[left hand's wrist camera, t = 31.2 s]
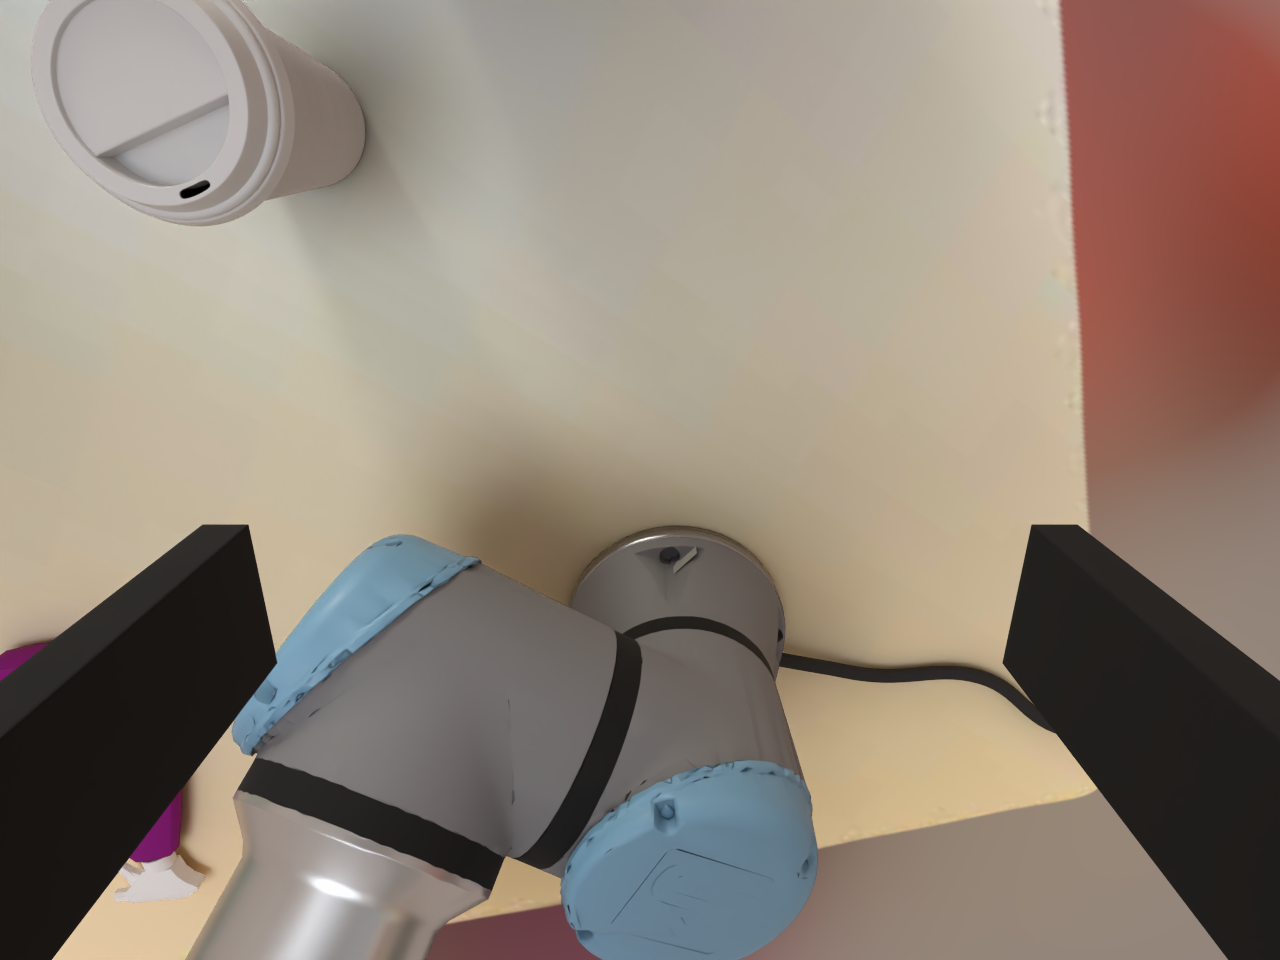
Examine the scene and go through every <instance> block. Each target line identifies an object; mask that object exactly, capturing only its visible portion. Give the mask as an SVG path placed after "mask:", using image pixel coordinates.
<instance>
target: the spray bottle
mask: <svg viewBox="0 0 1280 960" xmlns="http://www.w3.org/2000/svg"><path fill="white" fill-rule="evenodd" d="M47 644H49V643H46V644H37V645H31V646H26V647H21V648H17V649H12V650H8V651H6V652H4V653H3V654H1V655H0V681H1V680H2V679H3V678H5V677H6V676H7V675H9V674H10V673H11V672H13V671H14V670H15V669H16V668H18V667H19V666H20V665H22V664H23V663H24V662H25V661H27V660H28V659H29V658H31V657H32V656H33V655H35V654H36V653H37V652H38V651H40V650H41V649H42V648H44V647H45V646H46V645H47ZM181 810H182V799H181V791H180V792H179V793H178V794H177V796H176V797H175V798H174V800H173V801H172V802H171V804H170V805H169V806H168V808H167V809H166V810H165V812H164V813H163V814H162V815H161V817H160V818H159V819H158V821H157V822H156V823H155V825H154V826H153V827H152V829H151V830H150V831H149V833H148V834H147V835H146V837H145V838H144V839H143V840H142V842H141V843H140V844H139V846H138V847H137V848H136V850H135V851H134V852H133V854H132V855H131V856H130V859H132V860H134V861H135V862H141V863H142V865H143V867H144V869H140V868H135V867H133V866H132V865H130V864H128V863H125V864H124V865H123V867H122V868H121V869H120V871H119V873H120V874H121V875H122V876H123V877H124V878H125V879H126V880H127V881H128V883H129V884H130V885H131V886H130V887H126V888H121V889H117V890H116V892H115V893H114V900H115V902H122V901H131V902H133V903H138V902H148V901H158V900H168V899H178V898H186V897H188V896H189V895H191V894H192V893H193V892H195V891H196V890H198V889H199V887H200V885H201V884H202V882H203V880H204V879H205V877H206V875H204V874H202V873H199V872H197V871H195V870H193V869H192V868H190V867H189V866H187V865H186V863H185V862H184V860H183V859H182V857H181V856H180V855H176V853H175V850H176V849H177V847H178V846H179V842H180V826H181Z"/></svg>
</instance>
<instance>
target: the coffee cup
mask: <svg viewBox="0 0 1280 960" xmlns="http://www.w3.org/2000/svg"><path fill="white" fill-rule="evenodd" d="M31 68H32V78H33V84H34V89H35V93H36V97H37V100H38V103H39V106H40V109H41V111H42V114H43V116H44V118H45V120H46V122H47V124H48V126H49V128H50V130H51V132H52V134H53V135H54V137H55V138H56V140H57V141H58V143H59V144H60V146H61V147H62V149H63V150H64V151H65V152H66V154H67V155H68V156H69V157H70V158H71V159H72V161H73V162H74V163H75V164H76V165H77V166H78V167H79V168H80V169H81V170H82V171H84V172H85V173H86V174H87V175H88V176H89V177H91V178H92V179H93V180H94V181H95V182H96V183H97V184H98V185H100V186H101V187H102V188H103V189H104V190H106V191H107V192H108V193H110V194H111V195H113V196H114V197H115V198H117V199H118V200H120V201H121V202H123V203H125V204H126V205H128V206H130V207H132V208H134V209H136V210H138V211H140V212H142V213H144V214H147V215H149V216H152V217H155V218H157V219H160V220H163V221H166V222H170V223H174V224H180V225H187V226H211V225H218V224H222V223H226V222H230V221H232V220H235V219H238V218H240V217H242V216H244V215H246V214H247V213H249V212H251V211H252V210H254V209H255V208H256V207H258V206H259V205H260V204H261V203H262V202H263V201H266V200H270V199H274V198H278V197H282V196H286V195H291V194H295V193H299V192H303V191H307V190H312V189H316V188H320V187H324V186H328V185H332V184H334V183H337V182H339V181H340V180H342V179H344V178H345V177H346V176H348V175H349V174H350V173H351V172H352V170H353V169H354V168H355V167H356V165H357V164H358V162H359V160H360V158H361V155H362V152H363V149H364V144H365V122H364V117H363V113H362V110H361V107H360V105H359V102H358V100H357V98H356V96H355V95H354V93H353V91H352V90H351V89H350V87H349V86H348V85H347V83H346V82H345V81H344V80H343V79H342V78H341V77H340V76H339V75H337V74H336V73H335V72H334V71H332V70H331V69H329V68H328V67H326V66H325V65H323V64H322V63H320V62H318V61H317V60H315V59H314V58H312V57H311V56H309V55H307V54H306V53H304V52H303V51H301V50H300V49H298V48H297V47H295V46H293V45H292V44H290V43H289V42H287V41H286V40H284V39H283V38H281V37H279V36H278V35H276V34H275V33H273V32H272V31H270V30H269V29H267V28H265V27H264V26H262V24H261V23H260V22H259V20H258V19H257V18H256V16H255V15H254V14H253V13H252V12H251V11H250V9H249V8H248V7H247V6H246V5H245V4H244V3H243V2H242V1H241V0H50V1H49V2H48V3H47V5H46V6H45V8H44V10H43V12H42V13H41V16H40V18H39V20H38V23H37V26H36V29H35V32H34V37H33V42H32V51H31Z"/></svg>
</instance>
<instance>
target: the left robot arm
mask: <svg viewBox="0 0 1280 960" xmlns="http://www.w3.org/2000/svg"><path fill="white" fill-rule="evenodd" d="M784 639H785V618H784V612H783V608H782V604H781V601H780V598H779V595H778V592H777V589H776V587H775V584H774V582H773V580H772V578H771V577H770V575H769V573H768V571H767V570H766V569H765V567H764V566H763V565H762V563H761V562H760V561H759V560H758V559H757V558H756V557H755V556H754V555H753V554H752V553H751V552H749V551H748V550H747V549H746V548H744V547H743V546H741V545H740V544H738V543H737V542H735V541H733V540H731V539H730V538H727V537H725V536H723V535H721V534H718V533H715V532H712V531H708V530H704V529H700V528H694V527H683V526H669V527H660V528H654V529H649V530H645V531H641V532H638V533H635V534H633V535H630V536H628V537H625V538H623V539H621V540H620V541H618V542H616V543H614V544H613V545H611V546H610V547H608V548H607V549H605V550H604V551H603V552H602V553H600V554H599V555H598V556H597V557H596V558H595V559H594V560H593V561H592V562H591V563H590V565H589V566H588V567H587V568H586V569H585V571H584V572H583V574H582V575H581V577H580V579H579V581H578V583H577V584H576V587H575V589H574V592H573V594H572V598H571V602H570V607H567V606H565V605H563V604H561V603H559V602H557V601H555V600H553V599H551V598H549V597H547V596H544V595H542V594H540V593H538V592H536V591H534V590H532V589H530V588H528V587H527V586H525V585H523V584H521V583H519V582H517V581H515V580H513V579H511V578H509V577H507V576H505V575H503V574H501V573H499V572H497V571H495V570H493V569H491V568H489V567H487V566H485V565H483V564H482V562H481V560H479V559H478V558H476V557H473V556H471V557H465V556H462V555H460V554H457V553H455V552H452V551H450V550H447V549H445V548H442V547H440V546H438V545H436V544H433V543H431V542H429V541H426V540H424V539H422V538H419V537H416V536H412V535H393V536H389V537H386V538H384V539H381V540H379V541H377V542H376V543H374V544H373V545H371V546H370V547H368V548H367V549H366V550H365V551H363V552H362V553H361V554H360V555H359V556H358V557H356V558H355V559H354V560H353V561H352V562H351V563H350V564H349V565H348V566H347V567H346V568H345V569H344V570H343V571H342V572H341V574H340V575H339V576H338V577H337V578H336V579H335V580H334V581H333V582H332V584H331V585H330V586H329V587H328V588H327V589H326V590H325V592H324V593H323V594H322V595H321V596H320V597H319V599H318V600H317V601H316V602H315V603H314V605H313V606H312V607H311V608H310V610H309V611H308V612H307V613H306V615H305V616H304V617H303V618H302V620H301V621H300V622H299V624H298V625H297V626H296V627H295V629H294V630H293V631H292V633H291V634H290V635H289V637H288V638H287V639H286V641H285V642H284V643H283V645H282V646H281V647H280V649H279V650H278V652H277V653H276V654H275V649H274V644H273V640H272V635H271V630H270V625H269V621H268V616H267V611H266V606H265V602H264V597H263V592H262V587H261V583H260V578H259V573H258V568H257V563H256V559H255V554H254V549H253V544H252V540H251V535H250V530H249V525H202V526H200V527H199V528H198V529H196V530H195V531H194V532H193V533H191V534H190V535H189V536H187V537H186V538H185V539H183V540H182V541H181V542H180V543H178V544H177V545H176V546H174V547H173V548H172V549H170V550H169V551H168V552H167V553H165V554H164V555H163V556H161V557H160V558H159V559H158V560H156V561H155V562H154V563H152V564H151V565H150V566H148V567H147V568H146V569H145V570H143V571H142V572H141V573H139V574H138V575H137V576H136V577H134V578H133V579H132V580H130V581H129V582H128V583H126V584H125V585H124V586H123V587H121V588H120V589H119V590H117V591H116V592H115V593H114V594H112V595H111V596H110V597H108V598H107V599H106V600H104V601H103V602H102V603H101V604H99V605H98V606H97V607H95V608H94V609H93V610H92V611H90V612H89V613H88V614H86V615H85V616H84V617H82V618H81V619H80V620H79V621H77V622H76V623H75V624H73V625H72V626H71V627H69V628H68V629H67V630H66V631H64V632H63V633H62V634H60V635H59V636H58V637H57V638H55V639H54V640H53V641H51V642H50V643H49V644H47V645H46V646H45V647H44V648H42V649H41V650H40V651H38V652H37V653H36V654H35V655H33V656H32V657H31V658H29V659H28V660H27V661H25V662H24V663H23V664H22V665H20V666H19V667H18V668H16V669H15V670H14V671H13V672H11V673H10V674H9V675H7V676H6V677H5V678H3V679H2V680H1V681H0V960H52V959H53V957H54V956H55V955H56V953H57V952H58V951H59V949H60V948H61V947H62V946H63V944H64V943H65V942H66V940H67V939H68V938H69V936H70V935H71V934H72V932H73V931H74V930H75V928H76V927H77V926H78V925H79V923H80V922H81V921H82V919H83V918H84V917H85V915H86V914H87V913H88V911H89V910H90V909H91V907H92V906H93V905H94V903H95V902H96V901H97V900H98V898H99V897H100V896H101V894H102V893H103V892H104V890H105V889H106V888H107V886H108V885H109V884H110V882H111V881H112V880H113V879H114V877H115V876H116V875H117V873H118V872H119V871H120V869H121V868H122V867H123V865H124V864H125V863H126V861H127V860H128V859H129V858H130V856H131V855H132V854H133V852H134V851H135V850H136V848H137V847H138V846H139V844H140V843H141V842H142V840H143V839H144V838H145V837H146V835H147V834H148V833H149V831H150V830H151V829H152V827H153V826H154V825H155V823H156V822H157V821H158V819H159V818H160V817H161V815H162V814H163V813H164V812H165V810H166V809H167V808H168V806H169V805H170V804H171V802H172V801H173V800H174V798H175V797H176V796H177V794H178V793H179V792H180V791H181V789H182V788H183V787H184V785H185V784H186V783H187V781H188V780H189V779H190V777H191V776H192V775H193V773H194V772H195V771H196V770H197V768H198V767H199V766H200V764H201V763H202V762H203V760H204V759H205V758H206V756H207V755H208V754H209V752H210V751H211V750H212V748H213V747H214V746H215V745H216V743H217V742H218V741H219V739H220V738H221V737H222V735H223V734H224V733H225V731H226V730H227V729H228V727H229V726H230V725H231V724H232V722H233V721H234V720H235V721H234V724H233V727H232V735H233V740H234V742H235V743H236V744H238V745H239V746H240V748H241V751H242V753H243V754H246V755H250V756H253V755H254V754H255V753H258V754H257V756H256V758H255V760H254V762H253V764H252V765H251V767H250V769H249V770H248V772H247V774H246V776H245V777H244V779H243V781H242V782H241V784H240V786H239V788H238V789H237V791H236V793H235V795H234V797H233V801H234V805H235V809H236V813H237V817H238V821H239V825H240V829H241V833H242V837H243V856H242V859H241V860H240V862H239V864H238V866H237V868H236V869H235V871H234V873H233V875H232V877H231V878H230V880H229V882H228V884H227V886H226V887H225V889H224V891H223V893H222V895H221V896H220V898H219V900H218V902H217V903H216V905H215V907H214V909H213V911H212V912H211V914H210V916H209V918H208V920H207V921H206V923H205V925H204V927H203V929H202V930H201V932H200V934H199V936H198V938H197V939H196V941H195V943H194V945H193V946H192V948H191V950H190V952H189V954H188V955H187V957H186V959H185V960H426V958H427V955H428V953H429V950H430V948H431V946H432V943H433V941H434V938H435V936H436V933H437V932H438V931H439V930H440V929H441V928H442V927H443V926H444V925H445V924H446V923H447V922H448V921H449V920H451V919H453V918H455V917H456V916H458V915H460V914H462V913H464V912H466V911H467V910H469V909H471V908H473V907H475V906H476V905H478V904H480V903H482V902H484V901H485V900H487V899H488V898H489V896H490V894H491V891H492V889H493V886H494V884H495V881H496V878H497V876H498V873H499V871H500V868H501V865H502V863H503V860H504V859H505V857H506V856H508V857H511V858H513V859H516V860H519V861H521V862H524V863H526V864H528V865H531V866H533V867H536V868H538V869H540V870H543V871H545V872H547V873H550V874H552V875H555V876H557V877H559V878H561V891H560V894H561V902H562V905H563V907H564V909H565V913H566V918H567V921H568V923H569V925H570V926H571V927H572V928H573V929H575V930H576V936H577V939H578V941H579V942H580V943H581V944H582V945H583V946H584V947H585V948H586V949H587V950H588V951H589V952H591V953H592V954H594V955H595V956H597V957H599V958H601V959H602V960H739V959H742V958H744V957H746V956H748V955H750V954H752V953H754V952H755V951H757V950H759V949H761V948H762V947H764V946H765V945H767V944H768V943H770V942H771V941H772V940H774V939H775V938H776V937H777V936H778V935H780V934H781V933H782V932H783V931H784V930H785V929H786V928H787V927H788V926H789V925H790V924H791V923H792V921H793V920H794V919H795V918H796V917H797V916H798V914H799V913H800V912H801V910H802V909H803V907H804V905H805V904H806V902H807V900H808V898H809V896H810V893H811V891H812V888H813V886H814V883H815V879H816V874H817V868H818V849H817V842H816V837H815V832H814V827H813V822H812V803H811V795H810V792H809V790H808V788H807V785H806V783H805V780H804V777H803V773H802V770H801V767H800V763H799V760H798V757H797V753H796V750H795V747H794V743H793V740H792V737H791V733H790V730H789V727H788V723H787V720H786V717H785V713H784V710H783V707H782V703H781V700H780V697H779V693H778V690H777V687H776V683H775V681H776V677H777V673H778V669H779V666H780V667H785V668H791V669H797V670H802V671H808V672H814V673H820V674H826V675H831V676H836V677H841V678H847V679H852V680H859V681H867V682H881V683H895V682H912V681H924V680H938V679H954V680H964V681H970V682H974V683H978V684H981V685H984V686H987V687H989V688H991V689H993V690H995V691H997V692H998V693H1000V694H1001V695H1003V696H1004V697H1005V698H1007V699H1008V700H1009V701H1010V702H1011V703H1012V704H1013V705H1015V706H1016V707H1017V708H1018V709H1019V710H1020V711H1021V712H1022V713H1023V714H1024V715H1026V716H1027V717H1028V718H1029V719H1031V720H1032V721H1033V722H1035V723H1036V724H1038V725H1039V726H1041V727H1043V728H1045V729H1046V730H1049V731H1051V732H1053V733H1056V734H1057V735H1058V737H1059V738H1060V739H1061V741H1062V742H1063V743H1064V745H1065V746H1066V747H1067V748H1068V750H1069V751H1070V752H1071V754H1072V755H1073V756H1074V758H1075V759H1076V760H1077V762H1078V763H1079V764H1080V766H1081V767H1082V768H1083V770H1084V771H1085V772H1086V773H1087V775H1088V776H1089V777H1090V779H1091V780H1092V781H1093V783H1094V784H1095V785H1096V787H1097V788H1098V789H1099V791H1100V792H1101V793H1102V794H1103V796H1104V797H1105V798H1106V800H1107V801H1108V802H1109V804H1110V805H1111V806H1112V808H1113V809H1114V810H1115V812H1116V813H1117V814H1118V815H1119V817H1120V818H1121V819H1122V821H1123V822H1124V823H1125V825H1126V826H1127V827H1128V829H1129V830H1130V831H1131V833H1132V834H1133V835H1134V836H1135V838H1136V839H1137V840H1138V842H1139V843H1140V844H1141V846H1142V847H1143V848H1144V850H1145V851H1146V852H1147V854H1148V855H1149V856H1150V858H1151V859H1152V860H1153V861H1154V863H1155V864H1156V865H1157V867H1158V868H1159V869H1160V871H1161V872H1162V873H1163V875H1164V876H1165V877H1166V879H1167V880H1168V881H1169V882H1170V884H1171V885H1172V886H1173V888H1174V889H1175V890H1176V892H1177V893H1178V894H1179V896H1180V897H1181V898H1182V900H1183V901H1184V902H1185V903H1186V905H1187V906H1188V907H1189V909H1190V910H1191V911H1192V913H1193V914H1194V915H1195V917H1196V918H1197V919H1198V921H1199V922H1200V923H1201V924H1202V926H1203V927H1204V928H1205V930H1206V931H1207V932H1208V934H1209V935H1210V936H1211V938H1212V939H1213V940H1214V942H1215V943H1216V944H1217V945H1218V947H1219V948H1220V949H1221V951H1222V952H1223V953H1224V955H1225V956H1226V957H1227V959H1228V960H1280V681H1279V680H1278V679H1277V678H1275V677H1274V676H1273V675H1271V674H1270V673H1269V672H1267V671H1266V670H1265V669H1264V668H1262V667H1261V666H1260V665H1258V664H1257V663H1256V662H1255V661H1253V660H1252V659H1251V658H1249V657H1248V656H1247V655H1245V654H1244V653H1243V652H1242V651H1240V650H1239V649H1238V648H1236V647H1235V646H1234V645H1232V644H1231V643H1230V642H1229V641H1227V640H1226V639H1225V638H1223V637H1222V636H1221V635H1220V634H1218V633H1217V632H1216V631H1214V630H1213V629H1212V628H1211V627H1209V626H1208V625H1207V624H1205V623H1204V622H1203V621H1201V620H1200V619H1199V618H1198V617H1196V616H1195V615H1194V614H1192V613H1191V612H1190V611H1188V610H1187V609H1186V608H1185V607H1183V606H1182V605H1181V604H1179V603H1178V602H1177V601H1176V600H1174V599H1173V598H1172V597H1170V596H1169V595H1168V594H1166V593H1165V592H1164V591H1163V590H1161V589H1160V588H1159V587H1157V586H1156V585H1155V584H1154V583H1152V582H1151V581H1150V580H1148V579H1147V578H1146V577H1144V576H1143V575H1142V574H1141V573H1139V572H1138V571H1137V570H1135V569H1134V568H1133V567H1132V566H1130V565H1129V564H1128V563H1126V562H1125V561H1124V560H1122V559H1121V558H1120V557H1119V556H1117V555H1116V554H1115V553H1113V552H1112V551H1111V550H1109V549H1108V548H1107V547H1106V546H1104V545H1103V544H1102V543H1100V542H1099V541H1098V540H1096V539H1095V538H1094V537H1093V536H1091V535H1090V534H1089V533H1087V532H1086V531H1085V530H1084V529H1082V528H1081V527H1080V526H1078V525H1031V530H1030V535H1029V540H1028V544H1027V549H1026V554H1025V559H1024V563H1023V568H1022V573H1021V578H1020V583H1019V587H1018V592H1017V597H1016V602H1015V606H1014V611H1013V616H1012V621H1011V625H1010V630H1009V635H1008V640H1007V644H1006V649H1005V654H1004V659H1003V664H1004V666H1005V667H1006V668H1007V670H1008V671H1009V672H1010V674H1011V675H1012V676H1013V678H1014V679H1015V680H1016V682H1017V683H1018V684H1019V685H1020V687H1021V688H1022V689H1023V691H1024V692H1025V693H1026V695H1027V696H1028V697H1029V699H1030V700H1031V701H1032V703H1033V704H1034V705H1035V706H1036V707H1035V706H1034V705H1033V704H1032V703H1031V702H1030V701H1029V700H1028V699H1026V698H1025V697H1024V696H1023V695H1022V694H1021V693H1020V692H1019V691H1018V690H1017V689H1015V688H1014V687H1013V686H1012V685H1010V684H1009V683H1008V682H1006V681H1004V680H1003V679H1001V678H999V677H997V676H995V675H993V674H990V673H987V672H985V671H981V670H977V669H973V668H967V667H959V666H931V667H919V668H907V669H872V668H863V667H856V666H851V665H846V664H841V663H836V662H831V661H825V660H819V659H814V658H808V657H802V656H797V655H791V654H786V653H782V652H783V647H784ZM235 718H236V719H235Z"/></svg>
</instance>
